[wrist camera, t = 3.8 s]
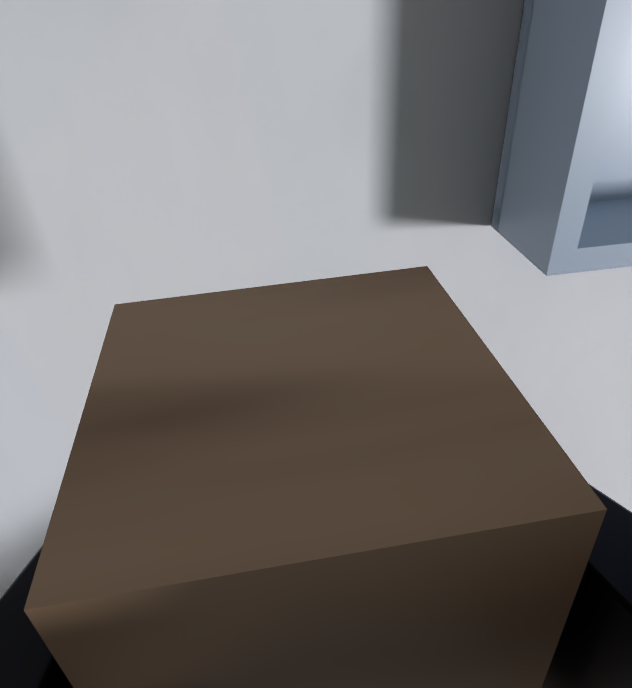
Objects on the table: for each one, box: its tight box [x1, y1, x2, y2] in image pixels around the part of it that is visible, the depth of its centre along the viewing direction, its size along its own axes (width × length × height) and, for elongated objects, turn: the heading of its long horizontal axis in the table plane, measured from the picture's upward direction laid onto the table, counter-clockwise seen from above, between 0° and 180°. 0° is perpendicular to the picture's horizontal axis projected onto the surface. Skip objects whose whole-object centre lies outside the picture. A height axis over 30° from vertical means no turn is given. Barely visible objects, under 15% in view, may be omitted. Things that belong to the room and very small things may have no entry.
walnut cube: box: [24, 266, 607, 688], centre depth 8 cm, size 5×5×5 cm
